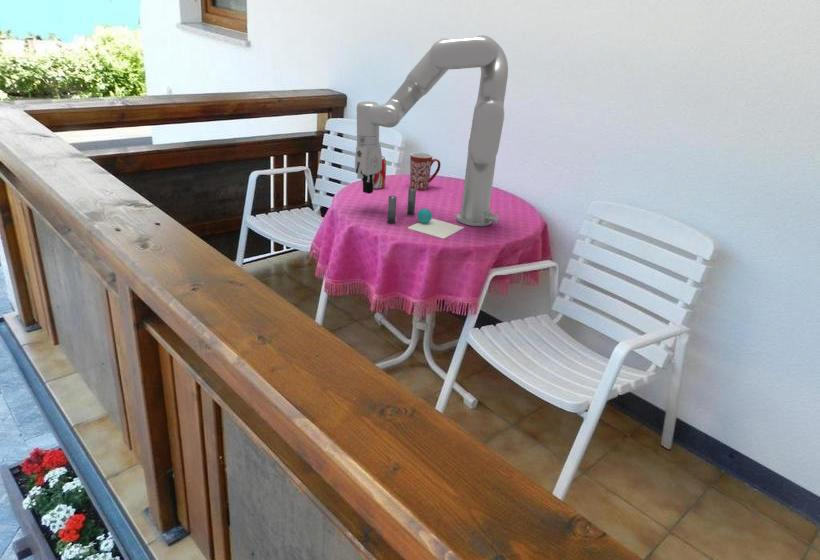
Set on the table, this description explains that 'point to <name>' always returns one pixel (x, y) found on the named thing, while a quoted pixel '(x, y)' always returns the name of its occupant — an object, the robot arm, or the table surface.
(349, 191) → the table surface
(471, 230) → the table surface
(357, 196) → the table surface
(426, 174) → the mug
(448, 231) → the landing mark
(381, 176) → the soda can
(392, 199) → the post left
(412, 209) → the post right
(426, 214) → the ball
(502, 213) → the table surface
